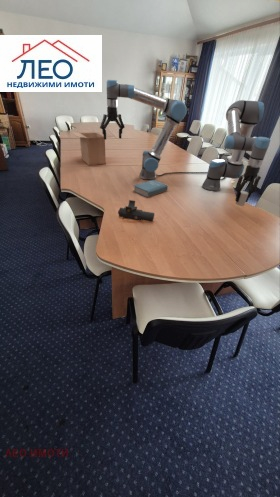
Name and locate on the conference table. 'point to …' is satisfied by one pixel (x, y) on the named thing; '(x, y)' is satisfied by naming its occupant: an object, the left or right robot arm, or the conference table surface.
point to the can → (242, 198)
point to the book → (150, 188)
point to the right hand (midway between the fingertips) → (241, 201)
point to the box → (92, 146)
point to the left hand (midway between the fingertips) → (112, 138)
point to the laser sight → (135, 213)
